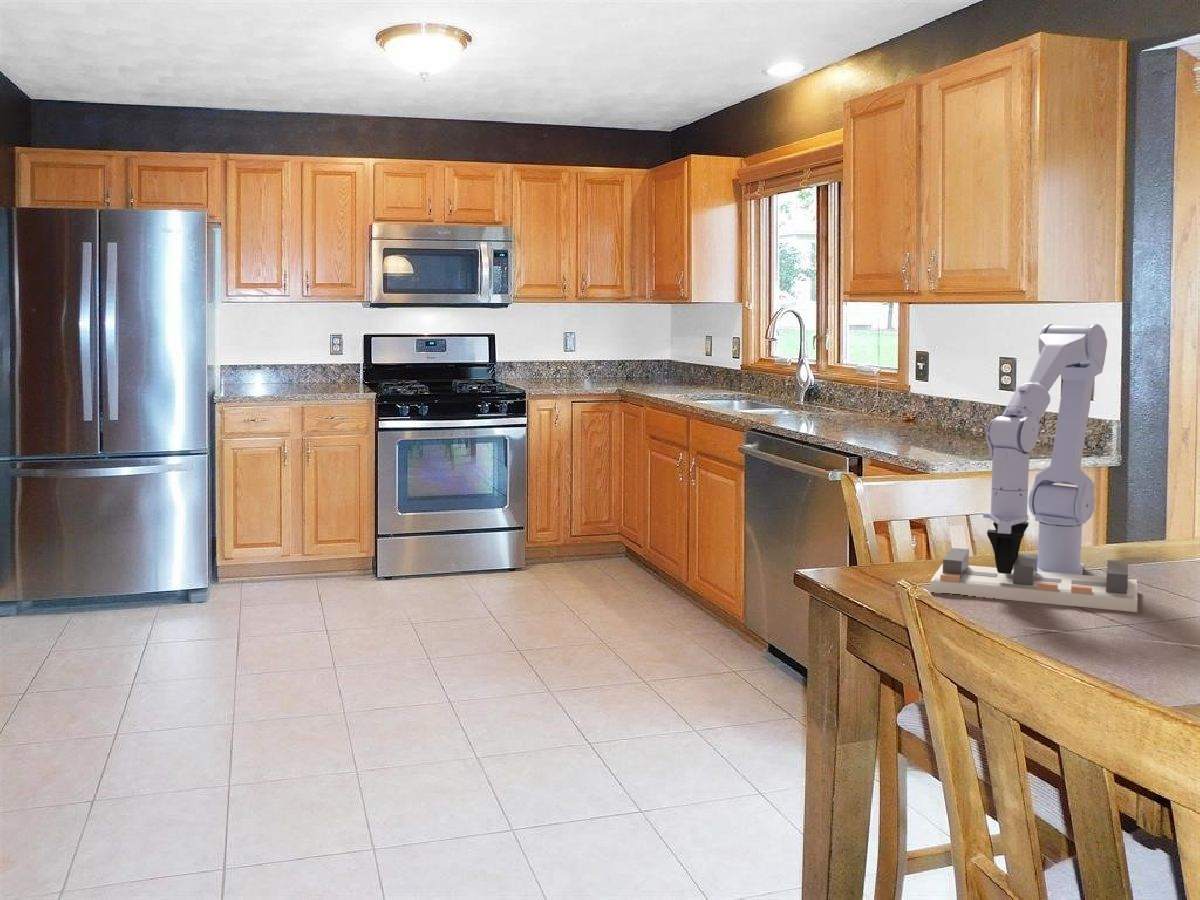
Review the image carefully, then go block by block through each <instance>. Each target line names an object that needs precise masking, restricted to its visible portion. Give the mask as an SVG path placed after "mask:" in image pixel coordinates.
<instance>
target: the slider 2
mask: <svg viewBox="0 0 1200 900" xmlns="http://www.w3.org/2000/svg"><path fill="white" fill-rule="evenodd" d="M1128 564H1129V563H1128V561H1122V560H1110V559H1107V566H1106V567H1107V568H1106V577H1107V581H1106V592H1116V593H1127V582H1128V579H1129V577H1128V576H1129V570H1128V569H1129V565H1128Z"/></svg>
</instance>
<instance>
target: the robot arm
mask: <svg viewBox="0 0 1200 900" xmlns="http://www.w3.org/2000/svg"><path fill="white" fill-rule="evenodd" d="M1107 348H1108V339H1107V335H1106V332H1105V330H1104V328H1103V327H1102V325H1100V324H1098V323H1094V324H1053V323H1047V324H1046V325H1044V327H1043V328H1042V329H1041V331H1040V333H1039V337H1038V353H1039V356H1038V359H1037V361H1036V363H1035V365H1034V369H1032V371H1031V372H1032V373H1031V375H1030V377H1029V380H1028V382H1025V383H1024V382H1023V383H1021V384H1019V386H1018V387H1017V389H1016V390H1015V392H1014V394H1013V395H1012V397H1011V399H1010V400H1009V402H1008V404H1007V405H1006V407H1005V409H1004V410H1003V412H1002V414H1001V415H1000V416H999V415H998V416H997V417H996V418H993V419H992V420H990V422H989V424H988V427H987V431H986V434H985V439H986V444H987V446H988V452H989V453H988V454H989V455H988V456H989V460H991V461H992V463H991V464H992V467H991V493H990V495H991V497H990V499H991V500H990V511H985V512H984V511H983V514H982V517H983V518H986V519H989V520H991V521H993V523H992V525H993V526H994V529H991V528H990V529H987V530H986V535H987V538H988V539H989V541H990V544H991V546H992V550H993V554H994V555H993V556H994V560H995V568H997V572H998V573H1003V574H1011V572H1012V569H1014V564H1015V561H1016V559H1017V557H1018V554H1019V553H1020V547H1021V542H1022V540H1023V537H1024V535H1025V532H1026V531H1027V529H1028V527H1029V522H1028V521H1029V515H1028V508H1029V511H1030V513H1031V514H1032V516H1033V517H1035V518H1034V521H1036V522H1038V532H1037V554H1036V555H1038V560H1037V571H1041V572H1053V573H1064V574H1076V575H1083V571H1084V566H1085V565H1084V563H1083V562H1081V560H1082V559H1081V558H1082V539H1083V536H1082V535H1083V525H1084V524H1087V522H1088V521H1089V520H1090V519H1091V518H1092V517H1093V514H1094V512H1095V506H1096V504H1095V501H1096V500H1095V499H1096V498H1095V483H1094V481H1093V480H1092V478H1091V477H1089V476H1088V474H1086V473H1085V472H1084V471H1083V470H1082V469H1081V466H1082V459H1083V454H1084V447H1085V441H1086V440H1085V439H1086V434H1087V433H1086V432H1087V425H1088V420H1089V414H1090V408H1091V401H1092V394H1093V388H1094V383H1095V382H1094V380H1095V377H1097V376H1098V375H1100V374H1102V373H1103V370H1104V366H1105V362H1106V360H1105V359H1106V355H1107ZM1059 377H1061V378H1062V388H1061V394H1060V395H1061V396H1060V399H1059V400H1060V402H1059V407H1058V415H1057V419H1056V426H1055V433H1054V439H1053V445H1052V453H1051V458H1050V465H1049V466H1047V467H1046V468H1045V469H1042V470H1041V471H1039V472H1038V473H1037V474H1036V475H1035V477H1034V482H1033V485H1032V488H1031V489H1030V491H1029V476H1030V472H1029V470H1030V452H1032V451H1033V449H1034V448H1035V447H1036V444H1037V443H1038V435H1039V431H1040V428H1041V427H1040V426H1041V425H1040V424H1039V423H1040V421H1041V419H1042V418H1043V417H1044V414H1045V412H1046V411H1047V408H1048V407H1049V405H1050V403H1051V396H1050V393H1049V391H1050V390H1051V388H1052V387H1053V386H1054V384H1055V382H1056V381H1057V380H1058V378H1059ZM1060 484H1061V485H1060ZM1062 484H1064V485H1062ZM1067 485H1068V486H1067ZM1069 485H1071V486H1069Z"/></svg>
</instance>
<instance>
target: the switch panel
mask: <svg viewBox="0 0 1200 900" xmlns="http://www.w3.org/2000/svg"><path fill="white" fill-rule="evenodd" d="M1013 572H1014V568H1013V569H1012V572H1011V574H1003V573H998V572H997V568H996V567H993V566H979V565H969V566H968V568H967V570H966V571H965V573H964V575H963V576H962V578H961V579H960V575H958V574H947V573H943V563H942V564H941V565H940V566H939V568H938V570H937V571H936V572H935V573H934V575H933V576H932V578H931V579H930V583H929V585H930V586H929V589H930V590H929V593H932V592H934V593H933V594H941V593H954V594H961V595H960V596H962V595H968V596H967V597H972V596H976V597H975V598H983V597H985V598H986V599H993V598H995V599H996V600H1007V601H1015V602H1016V601H1017V602H1025V603H1026V602H1027V603H1038V604H1048V605H1058V606H1068V607H1079V608H1088V609H1099V610H1110V611H1122V612H1131V613H1138V600H1139V599H1138V582H1137V581H1138V579H1135V578H1128V582H1127V593H1116V592H1106V581H1107V576H1099V575H1098V576H1097V575H1087V574H1082V575H1076V574H1064V573H1053V572H1041V571H1037V573H1036V576H1035V580H1034V583H1033V585H1026V584H1015V583H1013Z"/></svg>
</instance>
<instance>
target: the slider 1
mask: <svg viewBox="0 0 1200 900" xmlns="http://www.w3.org/2000/svg"><path fill="white" fill-rule="evenodd" d="M969 560H970V549H969V548H958V547H951V548H950V549H949V551H948V552H947V553H946V554H945V556H944V558H943V559H942V564H943V573H947V574H958V575H960V579H961V578H962V576H963V575H964V573H965V571H966V570H967V568H968V566H969V564H970V563H969V562H970V561H969Z"/></svg>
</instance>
